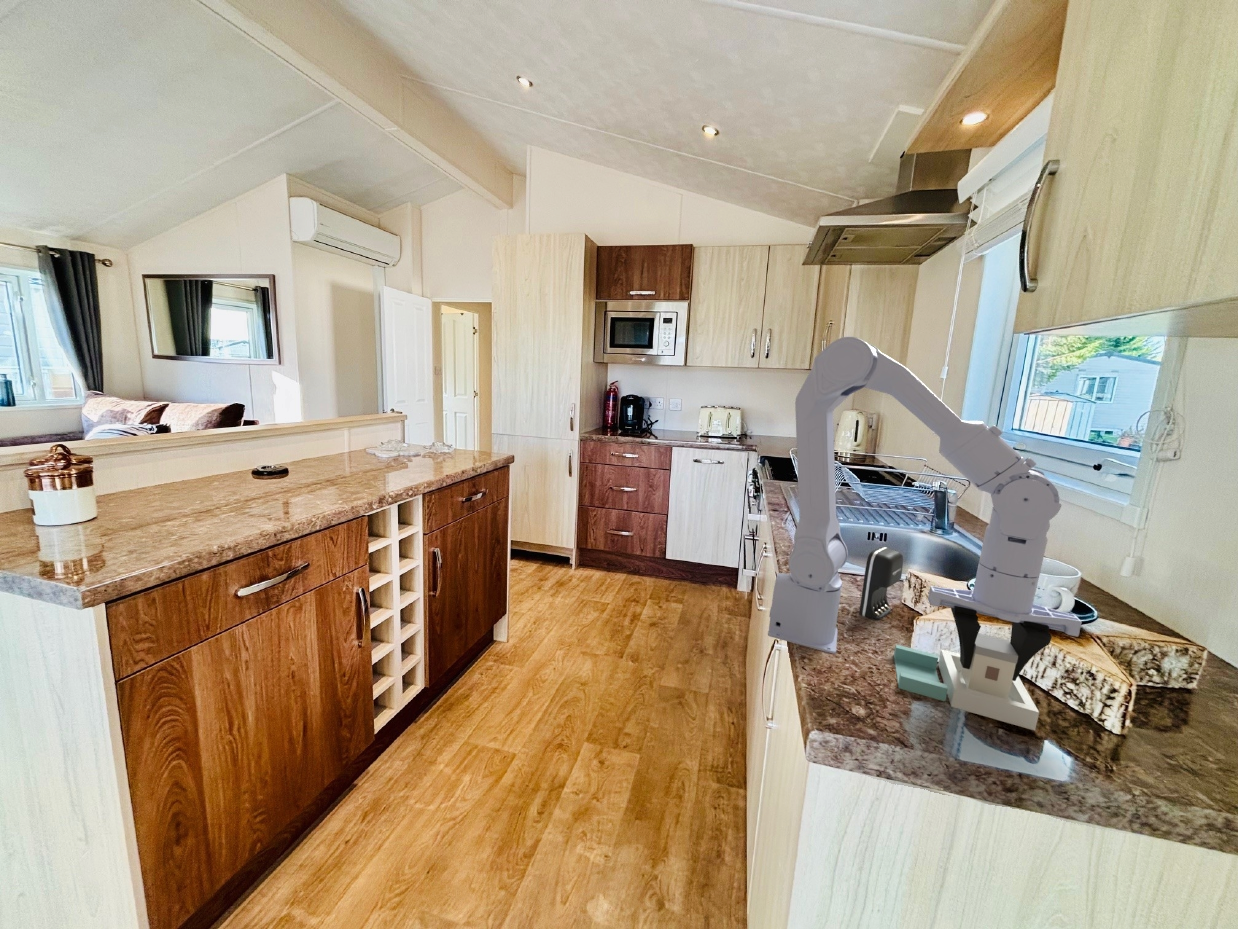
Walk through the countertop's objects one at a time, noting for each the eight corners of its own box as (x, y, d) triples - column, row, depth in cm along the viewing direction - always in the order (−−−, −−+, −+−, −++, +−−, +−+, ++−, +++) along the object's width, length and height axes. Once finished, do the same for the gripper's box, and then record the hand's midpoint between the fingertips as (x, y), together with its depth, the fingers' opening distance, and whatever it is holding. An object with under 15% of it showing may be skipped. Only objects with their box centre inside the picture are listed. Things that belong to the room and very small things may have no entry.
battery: (881, 625, 77) (892, 559, 75) (857, 616, 80) (867, 551, 78) (897, 613, 82) (908, 550, 80) (874, 605, 85) (884, 544, 83)
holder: (944, 703, 58) (947, 688, 58) (898, 690, 60) (900, 675, 60) (934, 667, 66) (936, 654, 66) (893, 657, 68) (895, 644, 68)
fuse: (967, 690, 59) (976, 646, 58) (960, 672, 63) (969, 631, 62) (1008, 701, 57) (1018, 656, 56) (999, 682, 61) (1008, 640, 60)
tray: (950, 708, 57) (954, 689, 57) (937, 666, 66) (941, 649, 66) (1034, 732, 54) (1039, 712, 54) (1009, 684, 63) (1012, 667, 62)
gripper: (942, 566, 57) (923, 668, 59) (1103, 595, 51) (1075, 709, 53) (933, 548, 63) (916, 642, 65) (1076, 573, 57) (1051, 675, 59)
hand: (986, 670), depth 60 cm, fingers closed on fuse, 4 cm apart
